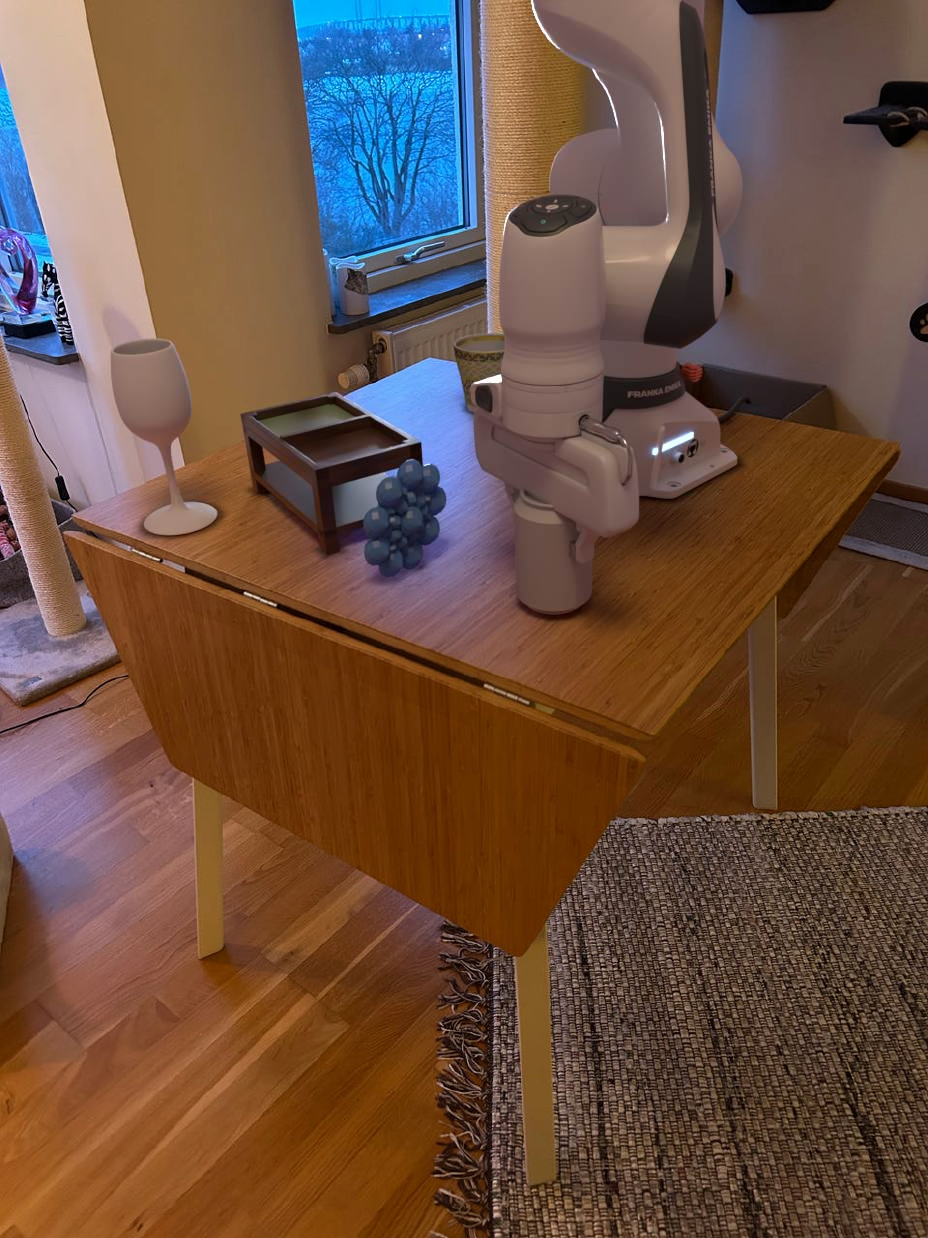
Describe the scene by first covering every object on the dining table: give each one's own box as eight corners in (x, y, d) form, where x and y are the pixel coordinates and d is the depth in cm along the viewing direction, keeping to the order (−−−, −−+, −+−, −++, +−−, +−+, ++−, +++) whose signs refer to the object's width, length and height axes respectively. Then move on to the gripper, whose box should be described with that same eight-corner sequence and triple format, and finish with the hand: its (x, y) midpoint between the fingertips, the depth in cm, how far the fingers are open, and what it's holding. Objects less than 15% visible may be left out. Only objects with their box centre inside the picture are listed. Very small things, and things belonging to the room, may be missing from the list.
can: (564, 572, 96) (564, 465, 89) (607, 603, 90) (610, 492, 83) (502, 593, 93) (498, 484, 86) (542, 627, 87) (541, 514, 81)
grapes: (418, 537, 105) (411, 437, 98) (462, 554, 101) (457, 451, 94) (342, 576, 98) (329, 472, 91) (386, 597, 94) (375, 489, 87)
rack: (344, 465, 124) (335, 390, 118) (427, 523, 108) (421, 439, 102) (253, 489, 118) (239, 412, 112) (326, 555, 102) (315, 468, 96)
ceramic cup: (486, 423, 135) (484, 355, 129) (442, 408, 141) (439, 342, 136) (548, 402, 142) (549, 336, 136) (504, 388, 148) (503, 325, 143)
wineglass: (198, 538, 107) (159, 358, 95) (130, 534, 108) (84, 357, 97) (229, 506, 114) (196, 335, 103) (165, 502, 115) (125, 334, 104)
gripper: (662, 426, 74) (651, 573, 82) (514, 367, 89) (516, 497, 96) (602, 445, 71) (597, 596, 79) (459, 381, 86) (466, 514, 94)
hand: (552, 541), depth 88 cm, fingers closed on can, 7 cm apart
